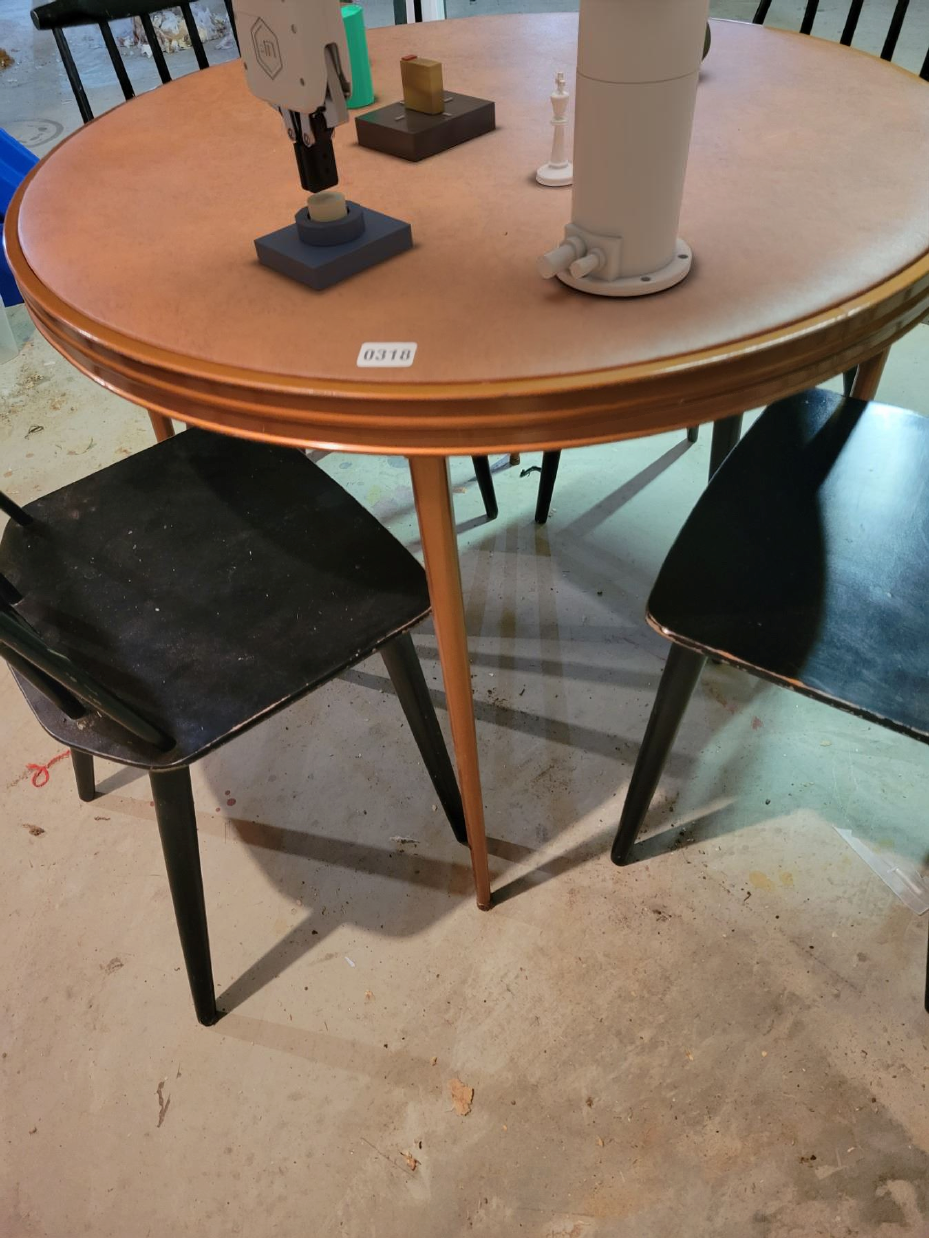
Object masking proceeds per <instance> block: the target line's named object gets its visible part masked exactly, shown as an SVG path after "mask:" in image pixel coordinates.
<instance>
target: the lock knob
mask: <svg viewBox="0 0 929 1238" xmlns="http://www.w3.org/2000/svg"><path fill="white" fill-rule="evenodd" d="M399 66H400V67H399V68H400V75H401V85H402V95H403V100H404V105H405V108H409V109H413V110H417V111H420V112H424V113H428V114H432V115H435V114H437V113H440V112H442V111H445V105H444V91H443V90H444V81H443V79H444V78H443V65H442V62H441V61H436V60H432V59H426V58H422V57H418V55H416V54H411V53H410V54H408V55H405V56H402V57H401V59H400V60H399Z"/></svg>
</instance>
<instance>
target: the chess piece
mask: <svg viewBox="0 0 929 1238" xmlns="http://www.w3.org/2000/svg"><path fill="white" fill-rule="evenodd" d="M554 80H555V81H554V83H555V84H556V85H557V90H556V91H553V92H552V93H551V94H550V96H549V97H550V98H549V99H550V102H551V105H552V110H553V113H554V116H552V117H550V119H549V122H548V123H549V124H550V125H551V126H554V131H553V141H552V146H551V147H552V148H551V155H550V159H549V160H548V161H547V163H546V164H543V165H542V166H540V167H539V168H538V169H537V171H536V176H535V180H536V181H537V182H538V183H539V184H541V185H544V186H547V187H562V186H564V187H565V186H569V185H572V174H573V163H571V162H570V161H569V159H568V158H567V153H566V143H565V142H566V141H565V128H564V126H565V125H568V124H569V123H570V119H569V117H568V116H566V115H565V113H566V110H567V106H568V102H569V101H570V93H569V92H568V91H565V90H564V88H565V87H566V81H565V80H564V72H563V71H558V72H557V77H555V79H554Z"/></svg>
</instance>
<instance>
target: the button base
mask: <svg viewBox="0 0 929 1238" xmlns="http://www.w3.org/2000/svg"><path fill="white" fill-rule="evenodd" d="M345 203H346V208H347V214H348V215H347V216H346V217H344V218H341V219H339V220H336V221H330V222H314V221H312V220H311V219H310V214H309V209H308V205H306V206H303V207H301V208H300V209H299V210H298V211H297V212H296V213H295V214H294V216H293V217H294V221H295V222H293V223H292V224H288V225H287V226H284V227H282V228H280V229H277V230H275V231H272V232H270V233H267V234H265V235H263V236H260V237H258V238H255V239H253V244H254V248H255V252H256V255H257V259H258V263H259V264H261V265H263V266H266V267H268V268H270V269H272V270H275V271H276V272H279V273H281V274H282V275H284V276H286V277H288V278H291V279H292V280H295V281H297V282H299V283H301V284H303V285H305V286H307V287H309V288H311V289H313V290H315V291H317V292H320V291H322V290H324V289H326V288H329V287H331V286H333V285H335V284H337V283H339V282H342V281H343V280H346V279H348V278H350V277H352V276H354V275H356V274H358V273H360V272H362V271H364V270H366V269H368V268H371V267H372V266H375V265H378V264H379V263H382V262H384V261H386V260H387V259H390V258H392V257H394V256H396V255H398V254H400V253H403V252H405V251H406V250H409V249H410V248H413V247H414V242H413V232H412V225H411V223H409V222H406V221H404V220H400V219H397V218H396V217H393V216H391V215H387V214H385V213H382V212H379V211H377V210H374V209H371V208H369V207H366V206H363V205H361V204H360V203H358V202H355V201H352V200H350V199H345Z"/></svg>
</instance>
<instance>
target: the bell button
mask: <svg viewBox="0 0 929 1238" xmlns="http://www.w3.org/2000/svg"><path fill="white" fill-rule="evenodd" d="M345 197H346V196H345V194H344V193H343V192H341V191H337V190H323V191H321V192H318V193H316V194H314V193H312V194H311V195H310V196H308V197H307V199H306V204H307V206H308V209H309V214H310V219H311V220H312V221H314V222H330V221H336V220H339V219H341V218H344V217H346V216H347V215H348V214H347V208H346V203H345V200H346V198H345Z"/></svg>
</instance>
